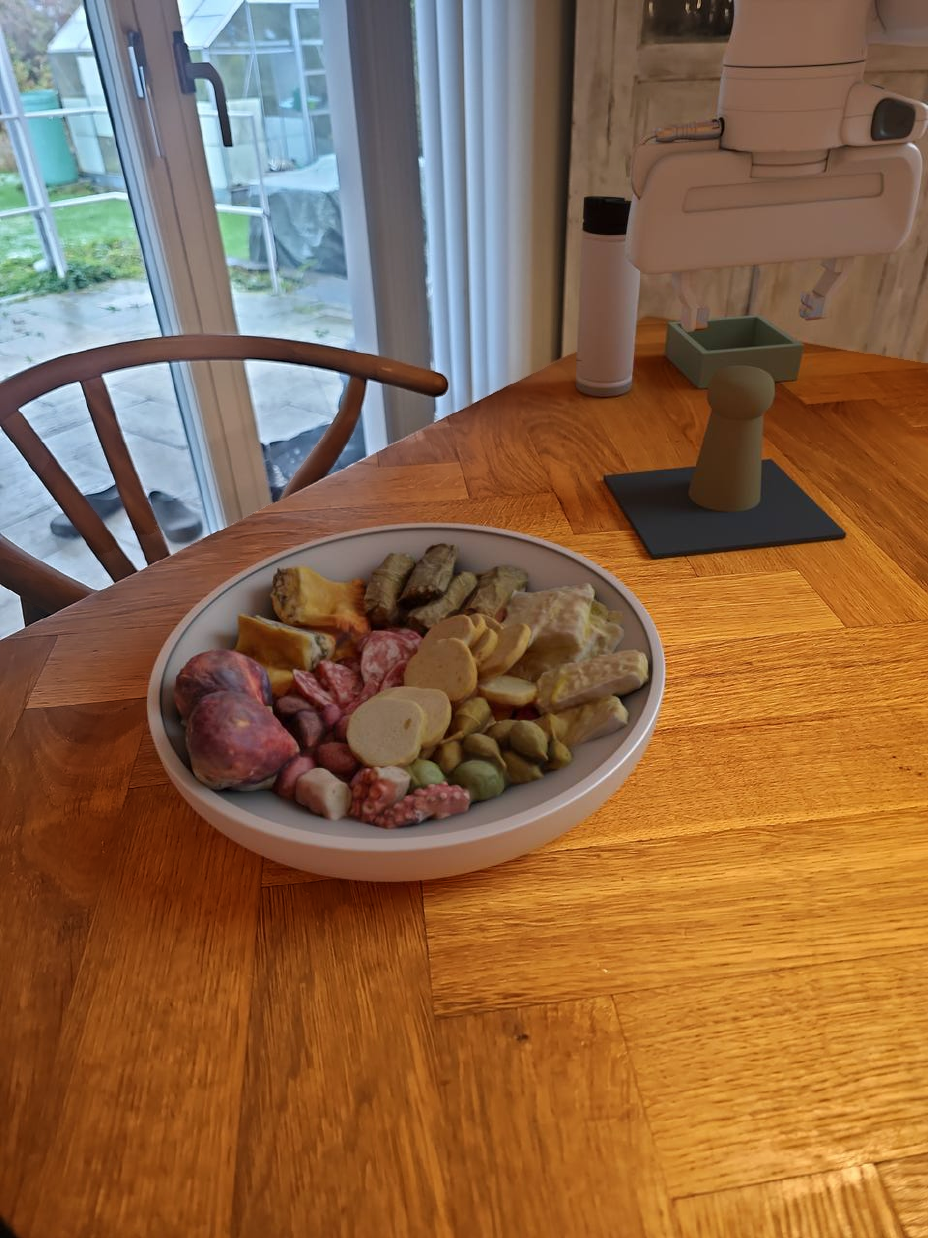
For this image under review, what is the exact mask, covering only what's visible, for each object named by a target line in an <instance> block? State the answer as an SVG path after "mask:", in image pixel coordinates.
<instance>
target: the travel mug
mask: <svg viewBox="0 0 928 1238" xmlns="http://www.w3.org/2000/svg"><path fill="white" fill-rule="evenodd" d="M631 202H632V200H626V197H620V196H619V197H618V196H605V195H603V196H602V195H590V196H584V197H583V209H582V220H583V221H582V228H581V235H582V236H581V242H580V243H581V244H580V264H579V265H580V267H579V268H580V269H579V290H578V291H579V292H578V294H579V296H578V317H577V324H578V325H577V342H576V343H577V344H576V365H575V366H576V370H575V371H576V374H575V387H576V390H577V391H578V392H580V393H581V394H583V395H586V396H590V397H595V398H614V397H619V396H622V395H624V394H627V393H628V392H629V391H631V389H632V386H633V373H634V372H633V371H634V360H635V349H636V338H637V337H636V336H637V325H638V324H637V323H638V312H639V311H638V310H639V296H640V285H641V273H642V272H641V271H639V270H638V269H637V268H636V267H635V266H634V265H633V264H632V263H631V262H630V261H629V259H628V258H627V256H626V253H625V241H626V233H627V225H628V219H629V213H630V207H631Z"/></svg>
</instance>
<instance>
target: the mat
mask: <svg viewBox="0 0 928 1238" xmlns="http://www.w3.org/2000/svg"><path fill="white" fill-rule="evenodd" d="M695 467H696V465H694V466H693V465H692V466H684V467H675V468H664V469H653V470H643V471H633V472H625V473H622V472H621V473H614V474H604V475H603V481H604V483H605V485H606V487H607V488H608V489H609V491H610V493H611V495H612V496H613V498H614V499H615V502H616V503H617V505H618V506H619V508H620V510H621V511H622V513H623V514H624V515H625V518H626V519H627V521H628V522H629V524H630V526H631V528H632V529H633V531H634V533H635V534H636V536H637V538H638V539H639V541H640V543H641V544H642V546H643V547H644V549H645V551H646V552H647V554H648V556H649V557H650V559H651V560H659V559H667V558H668V559H669V558H677V557H687V556H697V555H705V554H712V553H713V554H714V553H722V552H723V553H724V552H734V551H741V550H749V549H750V550H751V549H761V548H770V547H779V546H787V545H797V544H806V543H816V542H824V541H825V542H826V541H833V540H841V539H846V537H847V532H846V531H845V530H844V529H843V528H842V527H841V526H840V525H839V524H838V523H837V522H836V521H835V520H834V519H833V518H832V517H831V516H830V515H828V513H827V512H826V511H824V509H823V508H821V506H820V505H819V504H818V503H816V501H815V500H814V499H813V498H812V497H811V496H810V495H809V494H808V493H807V492H806V491H805V490H804V489H803V488H801V486H800V485H798V483H796V481H795V480H794V479H792V478H791V477H790V476H789V475H788V474H787V473H786V471H784V470H783V469H782V468H781V467H780V466H779V465H778V464H777V463H776V462H775V461H774V459H772V458H765V459H762V464H761V490H760V502H759V503H758V504H757V505H756V506H755V507H753V508H751V509H748V510H744V511H739V512H723V511H715V510H711V509H707V508H705V507H702V506H700V505H698V504H696V503H695V502H694V501H693V500H691V498H690V496H689V495H688V493H689V488H690V484H691V481H692V477H693V474H694V470H695Z"/></svg>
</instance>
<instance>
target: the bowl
mask: <svg viewBox="0 0 928 1238" xmlns="http://www.w3.org/2000/svg"><path fill="white" fill-rule="evenodd" d="M662 643H663V642H662V640H661V637H660V634H659V631H658V628H657V627H656V624H655V623H654V620H653V619H652V617H651V615H650V614H649V612H648V611H647V609H646V608H645V606H644V605H643V604H642V602H641V601H640V600H639V599H638V598H637V596H636V595H635V594H634V593H633V592H632V590H630V589H629V587H627V586H626V585H625V584H624V583H623V582H622V581H621V580H620V579H618V578H617V577H616V576H615V575H613V574H612V573H611V572H609V571H608V570H606V569H605V568H604V567H602V566H601V565H599V564H597V563H596V562H594V561H593V560H591V559H589V558H587V557H585V556H584V555H582V554H579V553H578V552H576V551H573V550H571V549H569V548H568V547H564V546H562V545H560V544H557V543H554V542H552V541H549V540H546V539H544V538H541V537H540V538H539V537H537V536H533V535H529V534H527V533H523V532H518V531H514V530H510V529H504V528H499V527H493V526H487V525H479V524H469V523H457V522H410V523H409V522H407V523H395V524H384V525H378V526H371V527H363V528H359V529H358V528H357V529H353V530H347V531H343V532H340V533H335V534H331V535H326V536H323V537H320V538H317V539H313V540H310V541H307V542H304V543H300V544H298V545H295V546H292V547H290V548H287V549H285V550H282V551H280V552H276V553H275V554H273V555H270V556H268V557H266V558H263V559H262V560H260V561H258V562H256V563H254V564H252V565H250V566H249V567H246V568H245V569H243V570H241V571H240V572H238V573H236V574H235V575H233V576H231V577H230V578H228V579H227V580H226V581H224V582H222V583H221V584H220V585H218V586H217V587H216V588H214V589H213V590H212V591H210V592H209V593H208V594H206V595H205V596H204V597H203V598H202V599H200V600H199V602H197V603H196V604H195V605H194V606H193V607H192V608H191V609H190V610H189V611H188V612H187V613H186V614H185V615H184V616H183V617H182V618H181V620H180V621H179V622H178V624H176V626H175V627H174V629H173V630H172V632H171V633H170V634H169V636H168V637H167V639H166V641H165V642H164V644H163V645H162V647H161V649H160V651H159V653H158V655H157V657H156V660H155V661H154V664H153V668H152V671H151V673H150V678H149V681H148V686H147V694H146V713H147V722H148V726H149V731H150V735H151V738H152V741H153V744H154V748H155V749H156V752H157V755H158V757H159V759H160V762H161V763H162V766H163V769H164V771H165V772H166V774H167V775H168V777H169V779H170V781H171V782H172V784H173V785H174V786H175V788H176V790H177V791H178V792H179V794H180V795H181V796H182V797H183V799H184V800H185V801H186V802H187V803H188V804H189V806H191V808H192V809H193V810H194V811H195V812H196V813H197V814H198V815H199V816H201V818H202V819H203V820H204V821H206V822H207V823H208V824H209V825H211V826H212V827H213V828H215V830H217V831H218V832H220V833H221V834H223V835H224V836H225V837H226V838H228V839H230V840H231V841H233V842H235V843H236V844H238V845H240V846H242V847H243V848H244V849H247V850H249V851H251V852H253V853H255V854H256V855H259V856H261V857H263V858H266V859H268V860H271V861H273V862H275V863H278V864H280V865H283V866H286V867H290V868H293V869H296V870H299V871H302V872H307V873H311V874H315V875H319V876H324V877H330V878H335V879H342V880H350V881H351V880H352V881H361V882H362V881H363V882H374V883H375V882H376V883H377V882H379V883H380V882H381V883H382V882H384V883H386V882H387V883H388V882H389V883H390V882H391V883H397V882H415V881H416V882H417V881H427V880H435V879H441V878H449V877H455V876H459V875H464V874H468V873H469V874H470V873H472V872H476V871H480V870H483V869H487V868H492V867H495V866H496V865H500V864H503V863H506V862H510V861H512V860H514V859H517V858H519V857H522V856H524V855H527V854H529V853H531V852H533V851H536V850H537V849H539V848H541V847H544V846H546V845H547V844H549V843H551V842H553V841H555V840H557V839H558V838H560V837H561V836H563V835H564V834H566V833H567V832H570V831H571V830H573V829H574V828H575V827H576V826H579V825H580V824H581V823H582V822H584V821H585V820H586V819H588V818H589V817H590V816H592V815H593V814H594V813H595V812H596V811H598V810H599V809H600V808H601V807H602V806H603V805H604V804H605V803H607V801H608V800H609V799H610V798H611V797H613V796H614V794H615V793H616V792H617V791H618V790H619V789H620V788H621V787H622V785H624V784H625V782H626V781H627V779H628V778H629V776H630V775H631V774H632V772H633V771H634V769H635V768H636V767H637V766H638V764H639V762H640V761H641V759H642V758H643V756H644V754H645V752H646V750H647V748H648V746H649V744H650V742H651V740H652V738H653V734H654V732H655V730H656V726H657V724H658V721H659V718H660V714H661V710H662V704H663V699H664V694H665V693H664V692H665V685H666V658H665V652H664V649H663V644H662Z"/></svg>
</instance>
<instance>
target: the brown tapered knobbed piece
mask: <svg viewBox="0 0 928 1238" xmlns="http://www.w3.org/2000/svg"><path fill="white" fill-rule="evenodd" d="M706 391H707V392H706V397H707V398H706V399H707V404H708V406H709V408H710V409H711V410H710V413H709V417H708V421H707V425H706V427H705V432H704V434H703V439H702V442H701V446H700V449H699V453H698V456H697V460H696V462H695V466H696V467H695V470H694V474H693V477H692V481H691V484H690V488H689V493H688V495H689V496H690V498H691V500H693V501H694V502H695V503H696V504H698V505H700V506H702V507H705V508H707V509H711V510H715V511H723V512H739V511H744V510H748V509H751V508H753V507H755V506H756V505H757V504H758V503H759V502H760V490H761V464H762V460H763V436H764V434H763V433H764V414H765V413H766V412H767V411H768V410H769V409H770V408H771V406H772V404H773V402H774V399H775V395H776V386H775V382H774V380H773V378H772V376H771V375H770V374H769V373H767V372H766V371H764V370H762V369H760V368H756V367H751V366H741V365H739V366H729V367H725V368H723V369H720V370H718V371H717V372H716V373H715V374H714V375H713V376H712V378H711V379H710V382H709V384H708V388H707V390H706Z"/></svg>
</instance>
